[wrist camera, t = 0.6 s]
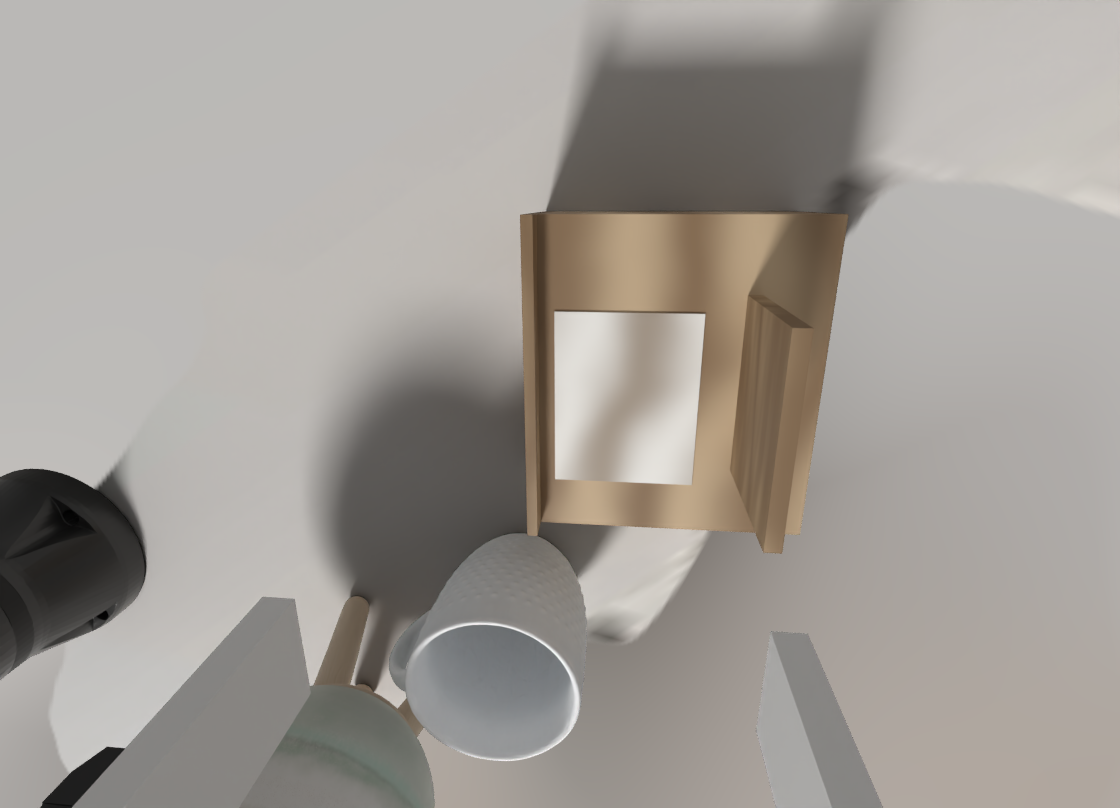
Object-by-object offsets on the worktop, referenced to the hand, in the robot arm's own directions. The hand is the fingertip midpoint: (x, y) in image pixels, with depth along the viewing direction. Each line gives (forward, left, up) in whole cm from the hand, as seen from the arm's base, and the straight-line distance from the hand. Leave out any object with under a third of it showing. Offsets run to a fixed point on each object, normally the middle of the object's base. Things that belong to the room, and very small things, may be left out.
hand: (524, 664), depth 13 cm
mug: (-6, -19, -30) cm, 36 cm away
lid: (+5, 0, -22) cm, 22 cm away
